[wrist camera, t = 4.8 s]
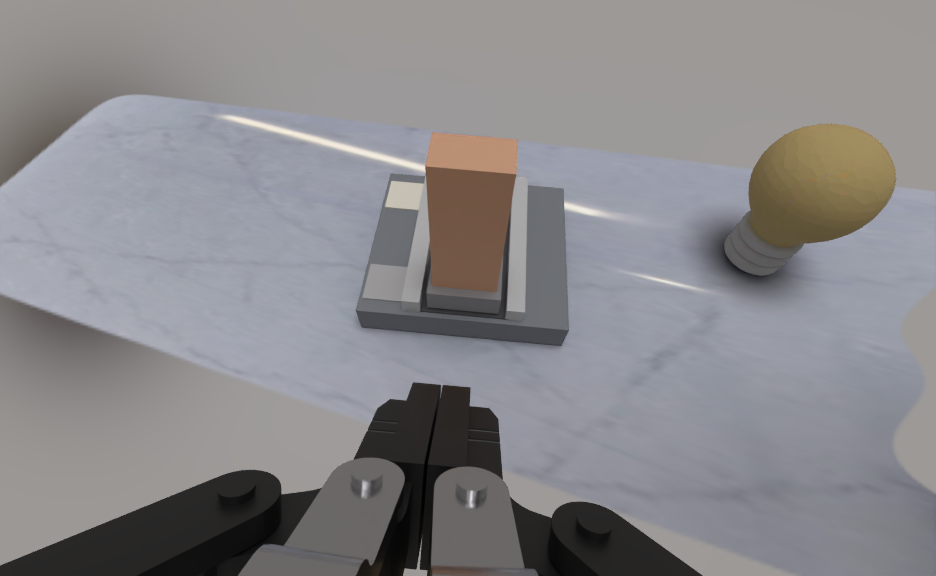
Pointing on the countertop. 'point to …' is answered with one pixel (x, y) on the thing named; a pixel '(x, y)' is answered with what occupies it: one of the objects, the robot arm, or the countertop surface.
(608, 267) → the countertop surface
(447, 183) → the lever
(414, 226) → the switch panel
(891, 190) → the light bulb
